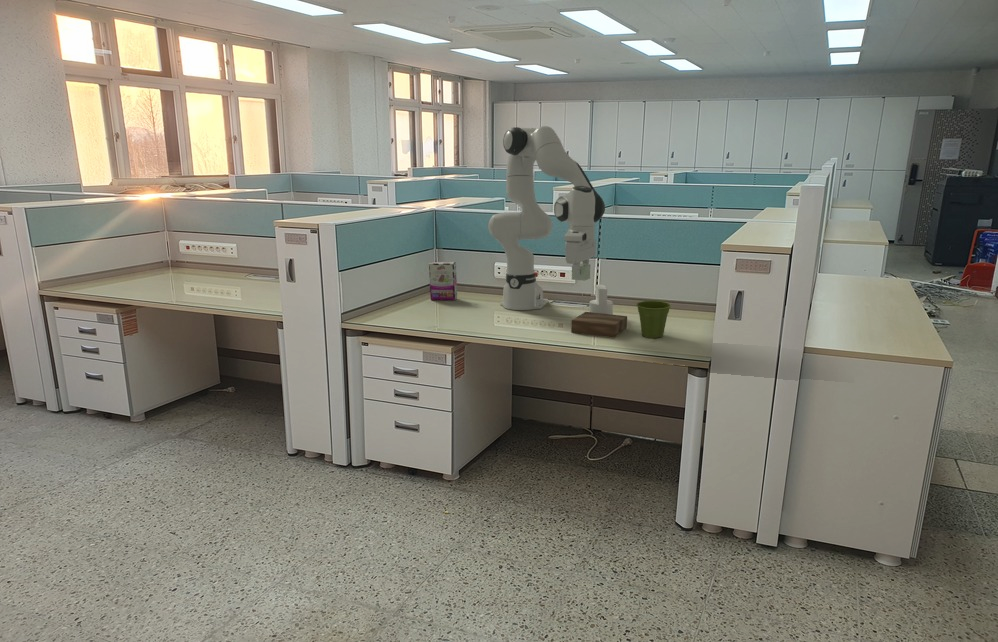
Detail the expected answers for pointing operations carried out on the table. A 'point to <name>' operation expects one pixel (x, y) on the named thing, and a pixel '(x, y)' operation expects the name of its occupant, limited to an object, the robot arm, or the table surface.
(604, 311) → the base with upright slab
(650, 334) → the plant pot
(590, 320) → the walnut block
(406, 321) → the table surface
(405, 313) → the table surface
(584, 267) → the sage cube
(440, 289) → the candy bar box
